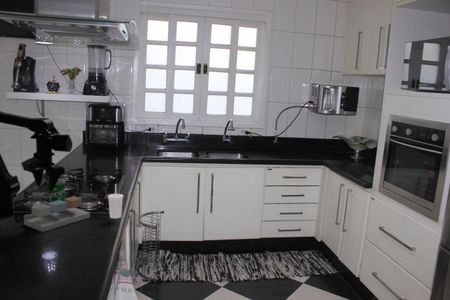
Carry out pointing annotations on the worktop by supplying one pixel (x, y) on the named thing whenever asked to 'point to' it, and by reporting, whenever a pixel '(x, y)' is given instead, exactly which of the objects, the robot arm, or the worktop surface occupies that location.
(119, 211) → the beverage cup
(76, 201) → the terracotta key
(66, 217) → the panel
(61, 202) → the light blue block
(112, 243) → the worktop surface
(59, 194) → the soda can
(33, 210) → the grey block
